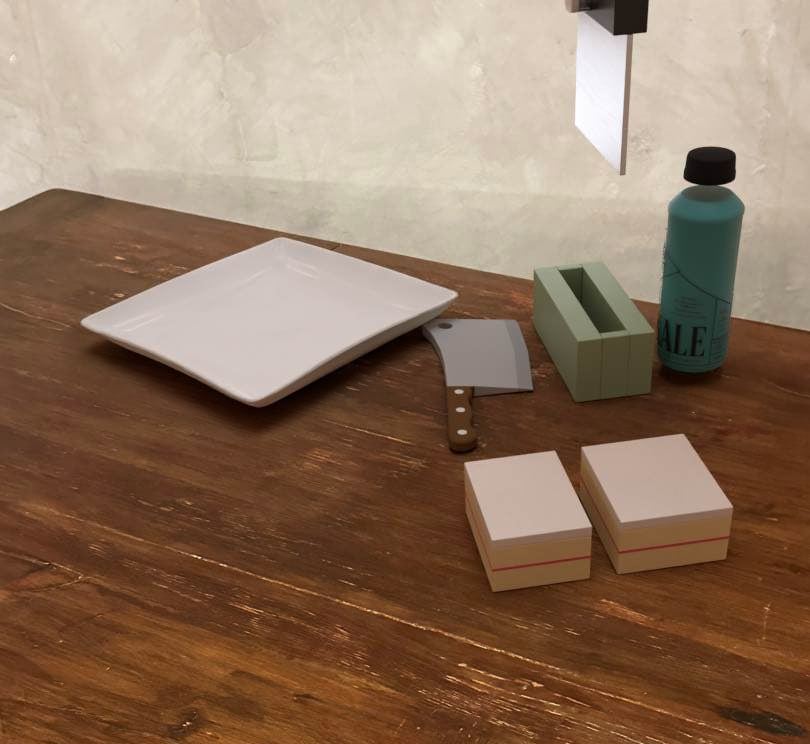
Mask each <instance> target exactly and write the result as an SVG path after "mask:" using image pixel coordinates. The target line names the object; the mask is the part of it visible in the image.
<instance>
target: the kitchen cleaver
mask: <svg viewBox="0 0 810 744" xmlns="http://www.w3.org/2000/svg"><path fill="white" fill-rule="evenodd" d="M421 334H422V335H423V337H424V338H426V340H428V341H429V343H430V344H431V345H432V346H433V348H434V350H435V352H436V354H437V356H438V357H439V359H440V363H441V367H442V370H443V374H444V382H445V399H446V417H447V433H448V434H447V435H448V446H449V447H450V448H451V450H453V451H455V452H467V451H470V450H472V449H473V448H475V447H476V446H477V445H478V431H476V430H475V429H474V428H473V427H472V426H473V410H472V408H473V407H472V406H471V403H472V402H473V398H474V397H479V396H480V397H481V396H489V395H497V394H507V393H516V392H529V391H534V385H533V379H532V371H531V370H532V369H531V363H530V356H529V350H528V346H527V344H526V341H525V339H524V335H523V333H522V330H521V328H520V324H519V322H517V320H516V319H491V318H490V319H488V318H487V319H481V318H480V319H479V318H478V319H477V318H476V319H475V318H433V319H431V320H430V321H428V322H426V323H424V324H422V325H421Z"/></svg>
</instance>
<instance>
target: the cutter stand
mask: <svg viewBox="0 0 810 744" xmlns="http://www.w3.org/2000/svg"><path fill="white" fill-rule="evenodd" d="M532 298H533V300H532V305H533V307H532V309H533V310H532V314H533V315H532V320H533V321H532V323H533V324H532V326H533V328H534V329H535V331H536V333H537V335H538V337H539V339H540V340H541V342H542V344H543V345H544V347H545V349H546V351H547V353H548V355H549V357H550V359H551V360H552V363H553V364H554V366H555V367H556V369H557V371H558V373H559V375H560V376H561V378H562V380H563V382H564V384H565V385H566V387H567V389H568V391H569V393H570V394H571V396H572V398H573V400H574V402H575V403H582V402H592V401H597V400H598V401H600V400H608V399H614V398H615V399H616V398H623V397H631V396H638V395H646V394H651V387H652V377H653V364H654V363H653V361H654V350H655V340H656V331H655V330H654V328H653V327H652V326H651V324H650V323H649V321H648V320H647V319H646V318H645V316H644V315H643V313H642V312H641V311H640V309H639V308H638V307H637V305H636V304H635V303H634V301H633V300H632V299H631V298H630V296H629V295H628V293H627V292H626V291H625V290H624V288H623V287H622V285H621V284H620V282H619V281H618V280H617V279H616V278H615V276H614V275H613V273H612V272H611V270H610V269H609V267H607V266H606V264H605V263H604V261H603V260H598V261H589V262H580V263H572V264H564V265H557V266H547V267H538V268H534V269H533V297H532Z"/></svg>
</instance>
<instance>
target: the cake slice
mask: <svg viewBox="0 0 810 744" xmlns="http://www.w3.org/2000/svg"><path fill="white" fill-rule="evenodd" d="M463 466H464V467H463V468H464V469H463V471H464V499H465V501H464V503H465V514H466V516H467V520H468V523H469V525H470V529H471V531H472V535H473V537H474V541H475V544H476V546H477V549H478V552H479V557H480V559H481V562H482V565H483V566H484V570H485V573H486V576H487V580H488V582H489V585H490V588H491V591H492V592H493V593H497V592H504V591H512V590H519V589H526V588H532V587H539V586H540V587H541V586H546V585H548V586H549V585H554V584H562V583H567V582H573V581H581V580H589V579H590V577H591V559H592V540H593V539H592V538H593V536H592V535H593V524H592V522H591V520H590V518H589V516H588V514H587V512H586V510H585V508H584V506H583V504H582V502H581V501H580V499H579V496H578V494H577V492H576V491H575V489H574V488H575V487H573V484H572V482H571V480H570V478H569V476H568V474H567V472H566V470H565V468H564V466H563V464H562V462H561V460H560V458H559V455H558V453H557V452H556V450H549V451H541V452H533V453H526V454H519V455H510V456H504V457H503V456H502V457H495V458H489V459H481V460H473V461H466V462H464V463H463Z"/></svg>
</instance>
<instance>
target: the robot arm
mask: <svg viewBox="0 0 810 744" xmlns="http://www.w3.org/2000/svg"><path fill="white" fill-rule="evenodd" d="M564 7H565V11H567V13H569V14H578V12H586V11H591V10H592V0H564Z"/></svg>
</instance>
